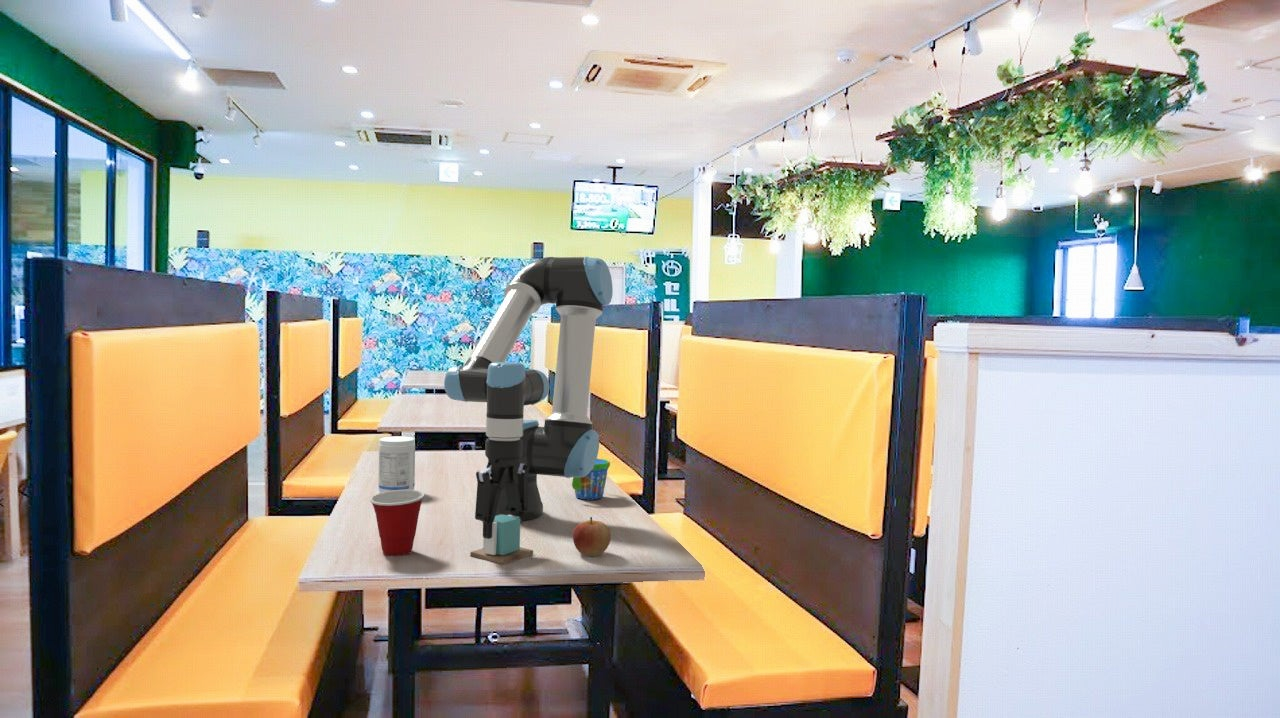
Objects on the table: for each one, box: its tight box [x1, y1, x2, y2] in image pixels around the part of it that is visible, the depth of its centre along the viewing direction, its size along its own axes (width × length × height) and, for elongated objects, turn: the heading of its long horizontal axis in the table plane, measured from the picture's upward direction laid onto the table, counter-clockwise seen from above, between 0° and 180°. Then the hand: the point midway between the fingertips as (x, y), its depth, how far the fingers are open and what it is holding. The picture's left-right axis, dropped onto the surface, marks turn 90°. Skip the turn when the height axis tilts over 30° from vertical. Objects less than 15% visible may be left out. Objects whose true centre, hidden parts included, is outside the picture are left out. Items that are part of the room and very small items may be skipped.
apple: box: [572, 516, 612, 557], centre depth 175 cm, size 8×8×8 cm
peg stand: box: [469, 546, 534, 565], centre depth 172 cm, size 9×9×7 cm
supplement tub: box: [378, 435, 416, 493], centre depth 229 cm, size 10×10×15 cm
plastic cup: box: [369, 489, 425, 557], centre depth 172 cm, size 11×11×12 cm
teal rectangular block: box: [482, 514, 521, 555], centre depth 172 cm, size 5×5×7 cm
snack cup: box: [571, 458, 611, 501], centre depth 229 cm, size 16×10×10 cm
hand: (501, 549), depth 172 cm, fingers open, 6 cm apart
